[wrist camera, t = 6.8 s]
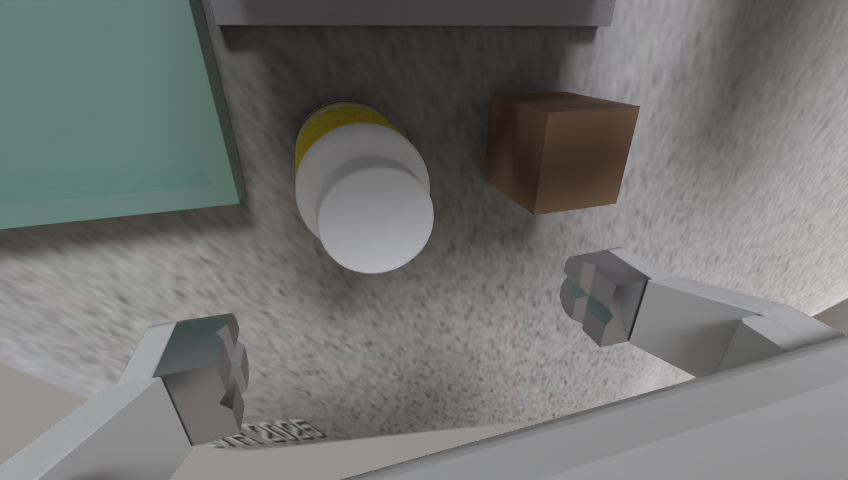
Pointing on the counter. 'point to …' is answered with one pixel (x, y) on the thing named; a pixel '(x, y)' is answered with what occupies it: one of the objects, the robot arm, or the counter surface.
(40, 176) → the tray
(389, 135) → the supplement bottle
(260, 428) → the counter surface
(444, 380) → the counter surface
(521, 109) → the walnut block
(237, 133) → the counter surface
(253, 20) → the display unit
